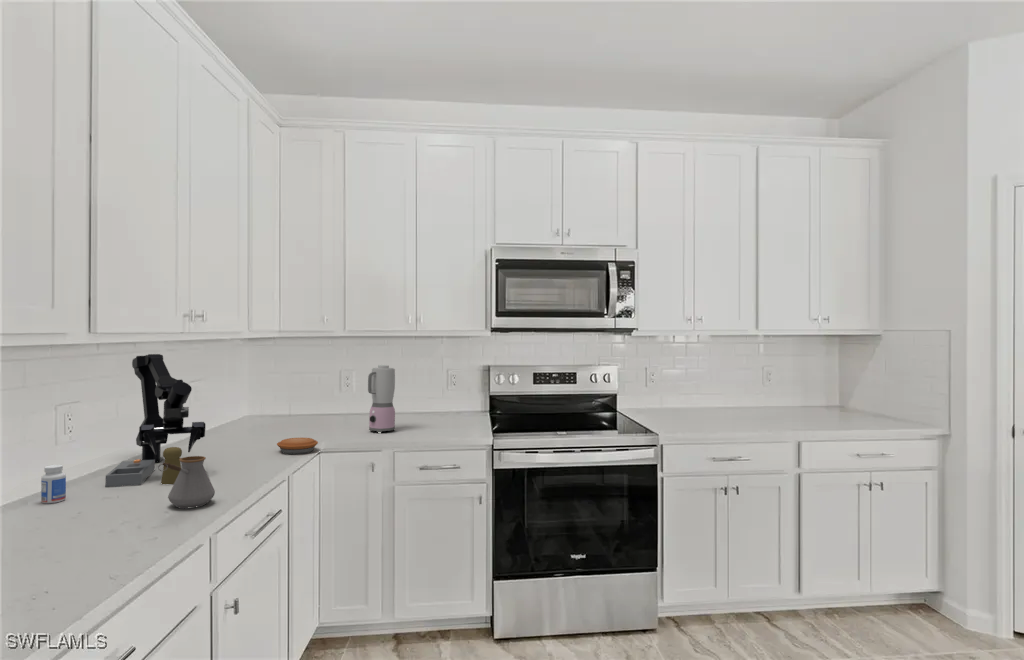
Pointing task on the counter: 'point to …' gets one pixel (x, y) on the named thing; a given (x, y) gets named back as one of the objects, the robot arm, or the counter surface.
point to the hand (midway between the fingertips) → (172, 452)
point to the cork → (173, 458)
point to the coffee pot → (190, 483)
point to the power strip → (130, 473)
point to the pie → (297, 445)
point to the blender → (382, 398)
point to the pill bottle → (53, 484)
